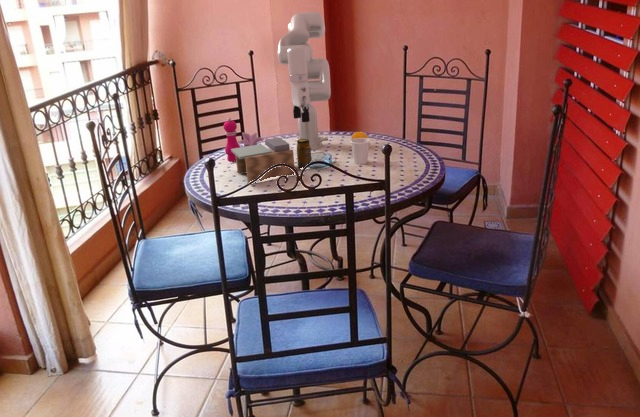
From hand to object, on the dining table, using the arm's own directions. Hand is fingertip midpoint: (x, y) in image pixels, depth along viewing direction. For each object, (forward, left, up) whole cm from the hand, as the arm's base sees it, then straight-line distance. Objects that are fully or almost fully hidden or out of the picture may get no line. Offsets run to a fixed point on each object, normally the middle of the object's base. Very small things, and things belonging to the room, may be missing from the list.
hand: (301, 119), depth 229 cm
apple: (-34, -15, -21) cm, 43 cm away
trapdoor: (+19, 0, -12) cm, 23 cm away
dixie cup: (-23, +8, -21) cm, 32 cm away
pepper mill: (+24, -30, -21) cm, 44 cm away
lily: (+12, -42, -21) cm, 48 cm away
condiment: (0, 0, -21) cm, 21 cm away
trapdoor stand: (+17, 0, -21) cm, 27 cm away
